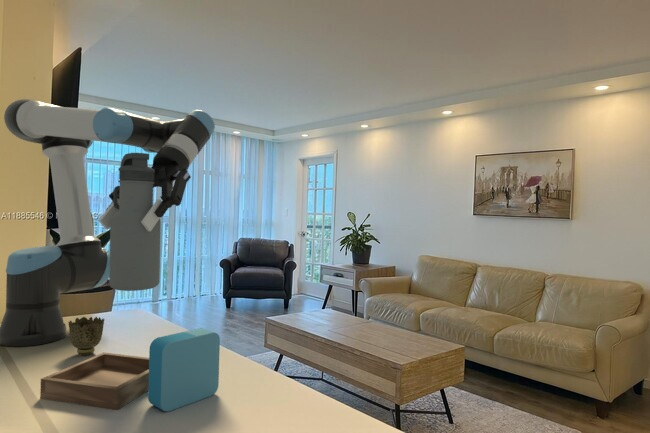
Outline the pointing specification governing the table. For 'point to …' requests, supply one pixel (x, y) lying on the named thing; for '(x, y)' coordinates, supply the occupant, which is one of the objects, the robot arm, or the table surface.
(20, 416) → the table surface
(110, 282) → the water bottle
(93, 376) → the walnut tray
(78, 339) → the cup
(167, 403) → the data package
